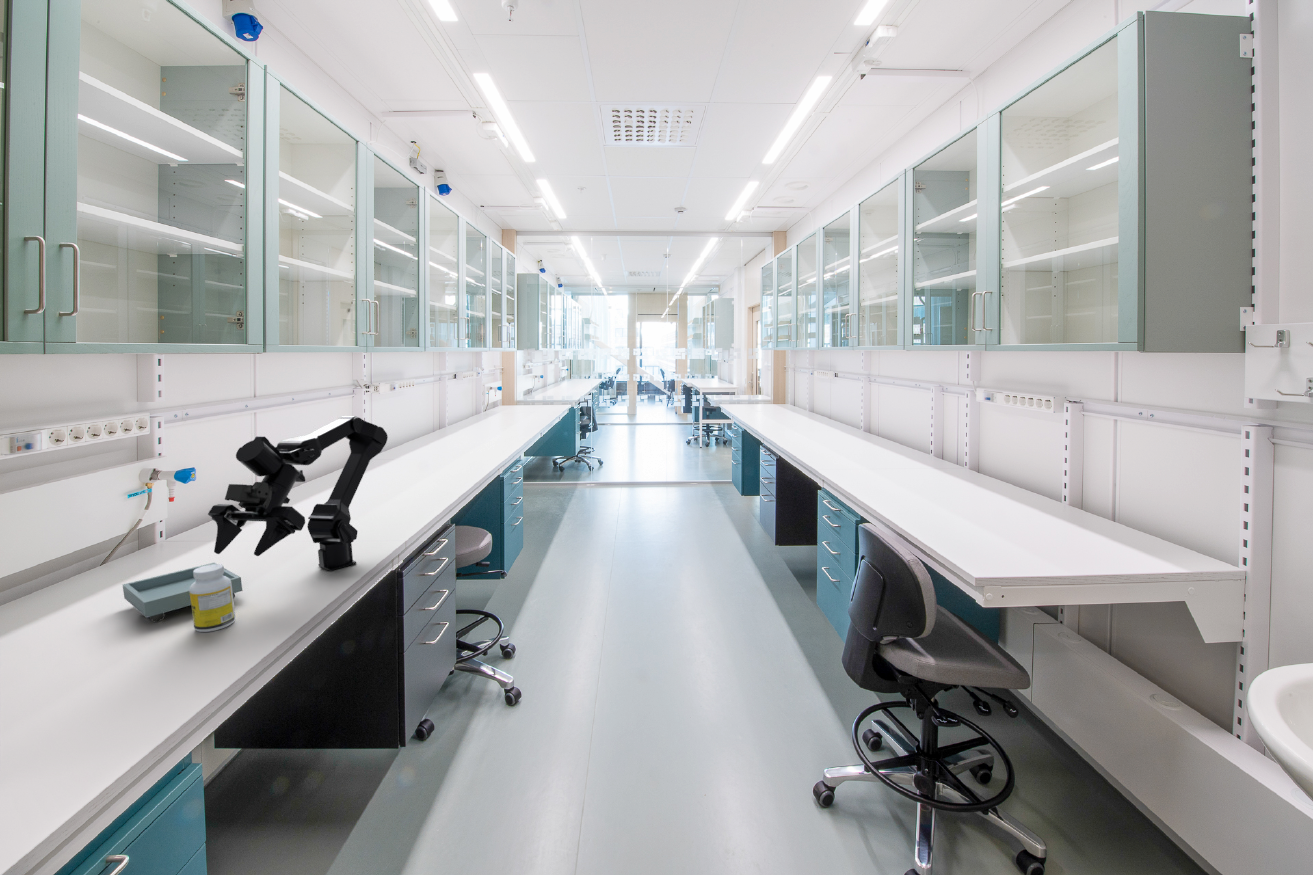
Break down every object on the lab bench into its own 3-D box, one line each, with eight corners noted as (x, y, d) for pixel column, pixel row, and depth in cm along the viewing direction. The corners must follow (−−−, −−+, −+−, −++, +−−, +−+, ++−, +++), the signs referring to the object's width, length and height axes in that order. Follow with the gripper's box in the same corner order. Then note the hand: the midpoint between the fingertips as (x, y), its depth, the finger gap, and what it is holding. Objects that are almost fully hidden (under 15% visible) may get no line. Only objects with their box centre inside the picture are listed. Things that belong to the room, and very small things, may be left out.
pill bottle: (209, 619, 117) (202, 562, 115) (243, 617, 117) (236, 561, 116) (185, 634, 110) (178, 574, 109) (222, 632, 111) (215, 573, 109)
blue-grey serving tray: (216, 583, 136) (214, 562, 135) (243, 599, 126) (240, 577, 126) (125, 607, 123) (122, 584, 122) (147, 627, 114) (144, 602, 113)
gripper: (210, 466, 123) (165, 533, 113) (289, 468, 120) (249, 536, 110) (246, 494, 132) (207, 558, 122) (321, 497, 128) (286, 563, 119)
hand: (236, 554), depth 118 cm, fingers open, 9 cm apart
